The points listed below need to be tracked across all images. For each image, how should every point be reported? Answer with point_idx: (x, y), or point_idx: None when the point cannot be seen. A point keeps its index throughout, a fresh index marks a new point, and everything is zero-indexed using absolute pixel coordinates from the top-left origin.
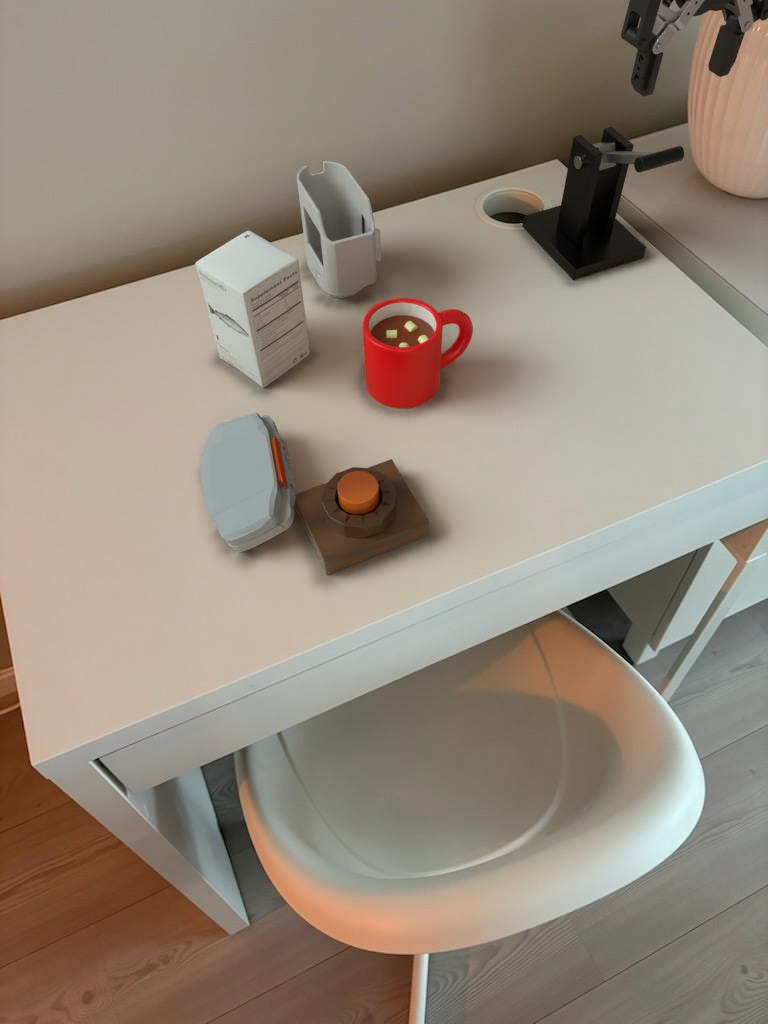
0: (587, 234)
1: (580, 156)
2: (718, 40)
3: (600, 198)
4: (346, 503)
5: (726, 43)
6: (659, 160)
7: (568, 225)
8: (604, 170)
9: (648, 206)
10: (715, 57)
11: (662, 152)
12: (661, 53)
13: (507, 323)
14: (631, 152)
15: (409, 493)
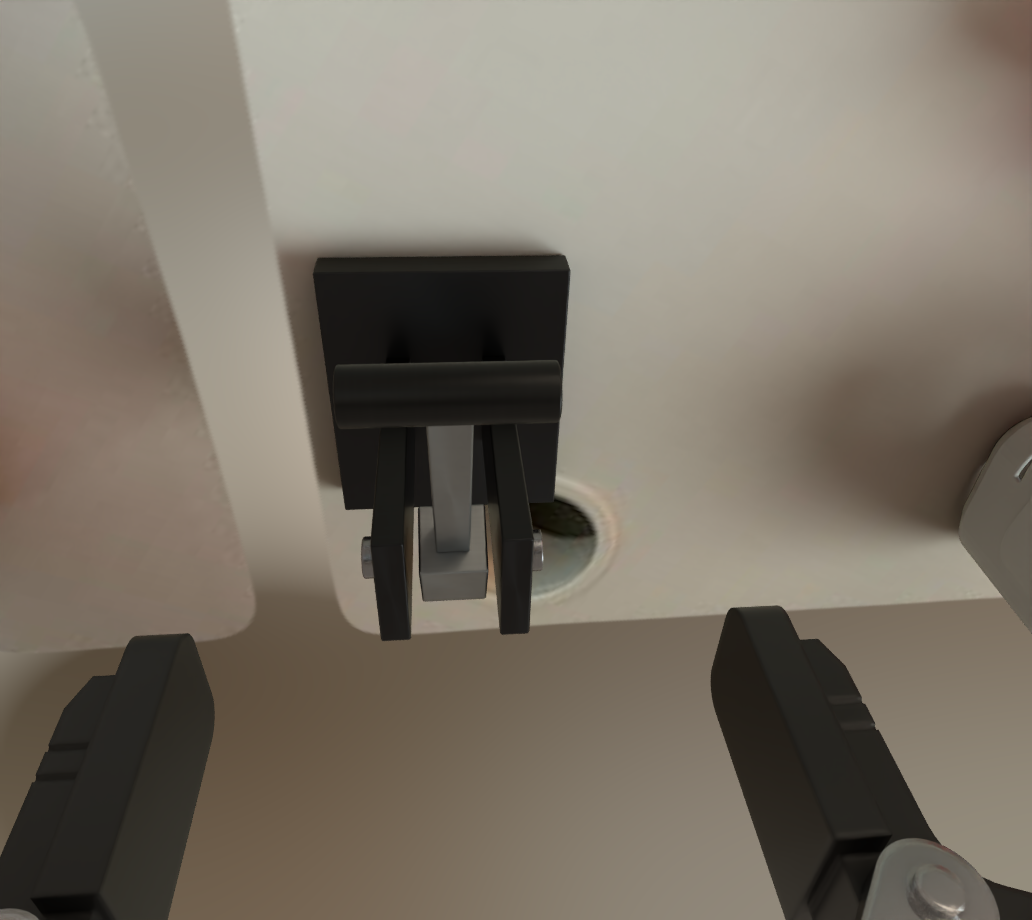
0: None
1: (536, 563)
2: (169, 870)
3: (411, 457)
4: None
5: (146, 839)
6: (474, 375)
7: None
8: (410, 521)
9: (186, 440)
10: (191, 763)
11: (443, 409)
12: (847, 838)
13: (837, 171)
14: (448, 498)
15: None
